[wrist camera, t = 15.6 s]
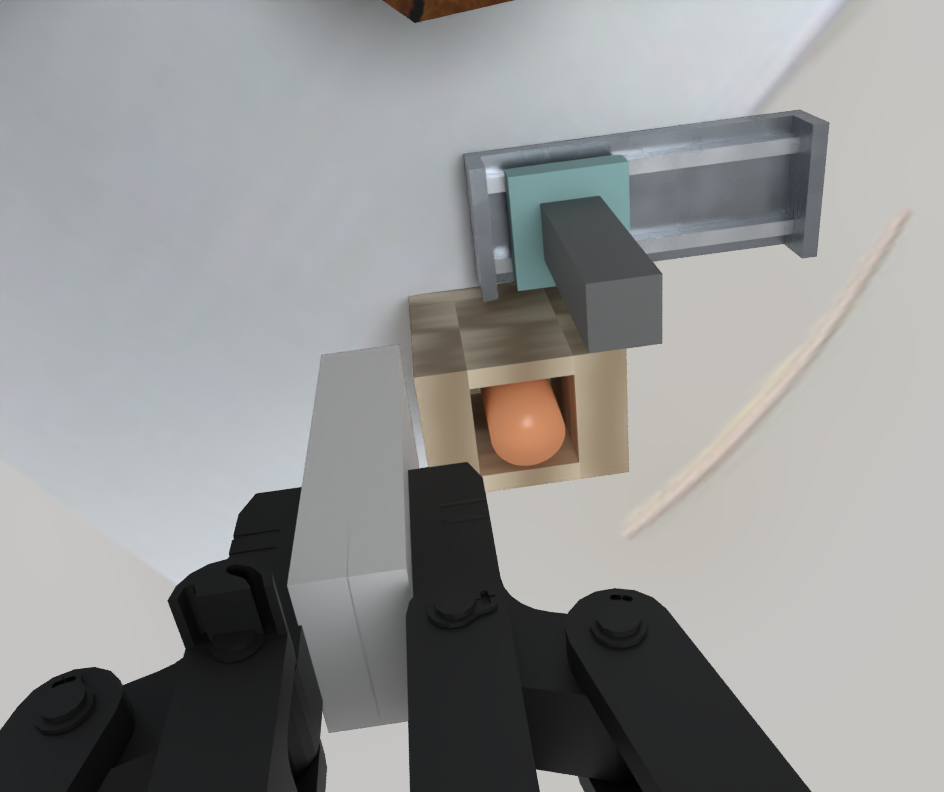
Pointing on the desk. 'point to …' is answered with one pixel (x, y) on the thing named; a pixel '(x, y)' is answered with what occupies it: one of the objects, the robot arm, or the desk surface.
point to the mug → (437, 7)
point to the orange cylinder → (524, 421)
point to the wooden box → (511, 361)
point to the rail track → (678, 188)
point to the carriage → (585, 249)
